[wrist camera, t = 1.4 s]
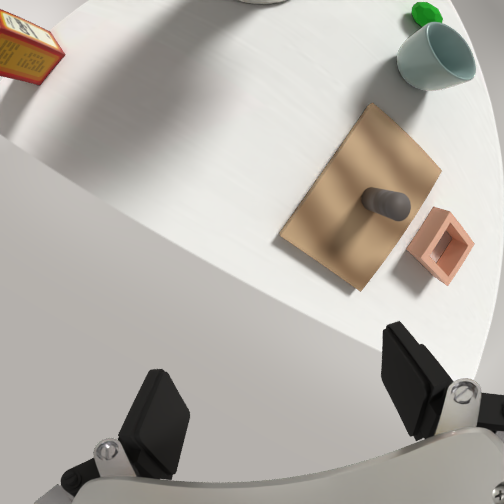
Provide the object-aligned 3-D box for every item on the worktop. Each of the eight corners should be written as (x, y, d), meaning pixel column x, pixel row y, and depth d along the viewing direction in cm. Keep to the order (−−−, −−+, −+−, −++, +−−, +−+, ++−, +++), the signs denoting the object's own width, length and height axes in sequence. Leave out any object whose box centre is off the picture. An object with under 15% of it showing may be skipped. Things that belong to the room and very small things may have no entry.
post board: (368, 105, 28) (399, 88, 20) (435, 170, 30) (475, 173, 21) (279, 233, 33) (286, 253, 24) (356, 287, 34) (381, 318, 26)
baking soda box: (27, 59, 24) (-33, 43, 9) (50, 31, 23) (-7, 6, 8) (40, 85, 26) (-30, 70, 11) (65, 54, 25) (-1, 27, 10)
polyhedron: (429, 39, 23) (445, 29, 19) (403, 19, 23) (417, 6, 18) (435, 23, 22) (450, 13, 17) (410, 4, 21) (423, -8, 17)
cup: (428, 54, 24) (466, 33, 15) (437, 100, 27) (482, 88, 17) (384, 42, 25) (418, 12, 15) (393, 91, 27) (434, 70, 17)
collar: (433, 206, 31) (450, 211, 27) (458, 236, 32) (474, 243, 28) (406, 249, 33) (420, 258, 29) (433, 275, 34) (447, 286, 30)
